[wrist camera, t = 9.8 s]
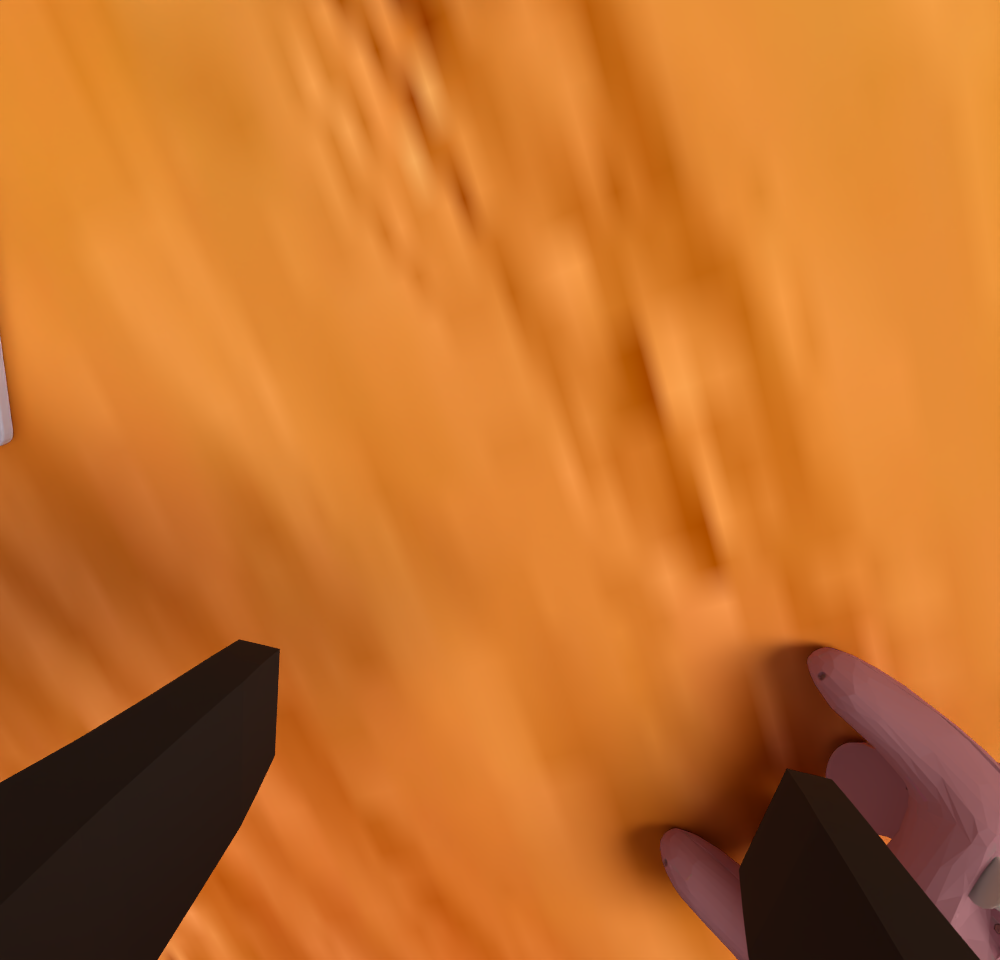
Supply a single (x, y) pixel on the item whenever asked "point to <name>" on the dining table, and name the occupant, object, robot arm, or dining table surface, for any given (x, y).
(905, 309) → the dining table surface
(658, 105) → the dining table surface
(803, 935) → the robot arm
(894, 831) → the video game controller
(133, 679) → the dining table surface
